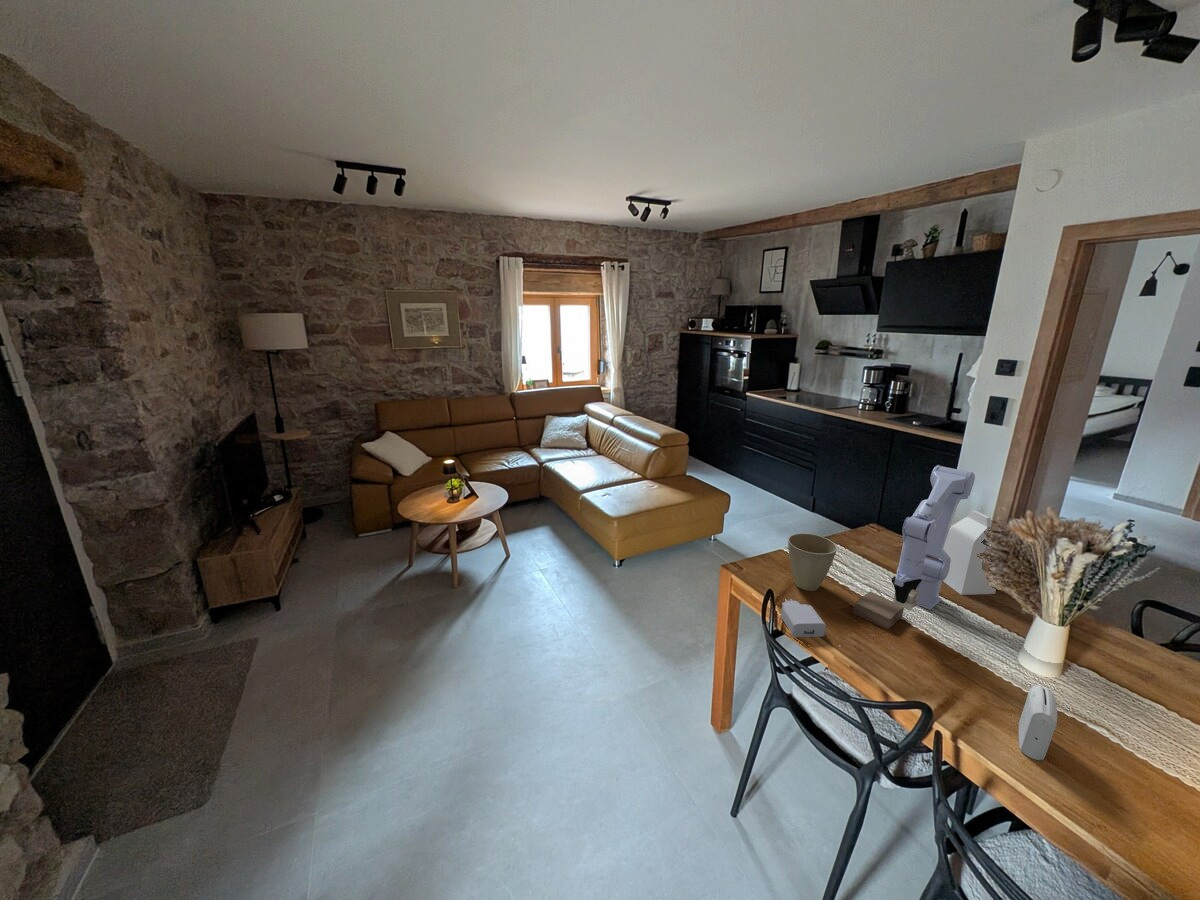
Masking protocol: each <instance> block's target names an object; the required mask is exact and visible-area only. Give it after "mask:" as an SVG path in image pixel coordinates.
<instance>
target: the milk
mask: <svg viewBox="0 0 1200 900" xmlns="http://www.w3.org/2000/svg"><path fill="white" fill-rule="evenodd" d="M991 526H992V521H991V517H989V516H987V515H986V514H983V513H982V512H980V511H978V510H975V509H974V510H973V509H972V510H971V511H970V512H969V513H968V514H967V516H965V517H964V518H962V519H960V520H959V521H957V522H956V523H954V524H951V526H950V529H949V532H948V535H947V538H946V541H945V544H944V547H943V550H944V551H945V552H946V553H947V554H948V555H949V557H950V559H951V563H950V569H949V572H948V575H947V577H946V579H945V580H943V581H942V582H944V583H945V584H946V585H947V586H948V587H950V588H951V589H953V590H954V591H956V592H957V593H958V594H959V595H961V596H963V595H964V596H965V595H966V596H967V595H971V596H972V595H993V594H996V591H997V588H996V589H994V588H992V587H989V586H988V585H987V579H986V574H985V572H984V571H983V569H982V561H981V559H980V558H979V557H977V556H976V555H977V554H980V553H983V552H984V551H985V548H986V547H985V545H984V544H983V543H981V542H982V541H983V540H984V539H985V537H986V535H985V534H984V531H987V530H989V529H990V528H991ZM938 559H939V560H941V559H940V558H938Z"/></svg>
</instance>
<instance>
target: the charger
mask: <svg viewBox="0 0 1200 900" xmlns="http://www.w3.org/2000/svg"><path fill="white" fill-rule="evenodd" d="M784 600H785V601H784V602H782V603H781V605H782V607H781V610H780V611H781V614H780V618H781V619H782V621H783V622H784V624H785V626H786V627H787V629H788V631H789V632H790V634H791V636H792V637H793V638H814V637H815V638H819V637H820V638H822V637H824V636H825V635H826V629H827V624H826V623H825V622H824V620H823V619H822V618H821V616H820V615H819V614H818V612H817V611H816V610H815V608H814V607H813V606H812V605H810V604H801V603H800V602H799V601H796V600H793V599H792V598H790V599H789V600H787V599H786V598H785V599H784Z"/></svg>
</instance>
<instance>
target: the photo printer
mask: <svg viewBox="0 0 1200 900" xmlns="http://www.w3.org/2000/svg"><path fill="white" fill-rule="evenodd" d="M1057 722H1058V706H1057V702H1056V698H1055V695H1054V694H1053V693H1052V691H1051V690H1050V689H1049V688H1048V687H1044V686H1042V685H1039V684H1036V685H1033V686H1031V687H1030V689H1029V691H1028V693H1027V697H1026V700H1025V703H1024V706H1023V709H1022V712H1021V715H1020V718H1019V722H1018V746H1019V750H1020V751H1021V752H1022V753H1023V754H1024V755H1025V756H1027V757H1028V758H1030V759H1033V760H1036V761H1044V760H1045V757H1046V755H1047V753H1048V749H1049V747H1050V744H1051V742H1052V738H1053V735H1054V733H1055V730H1056V726H1057V724H1058V723H1057Z"/></svg>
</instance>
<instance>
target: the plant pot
mask: <svg viewBox="0 0 1200 900" xmlns="http://www.w3.org/2000/svg"><path fill="white" fill-rule="evenodd" d="M787 544H788V547H787V548H788V557H789V565H790V568H791V573H792V578H793V582H794V585H796V587H798V588H799V589H801V590H804V591H807V592H808V591H809V592H814V591H817V590H818V589H820V586H821V585H822V584H823V582H824V580H825V579H826V577H827V575H828V573H829V572H830V569H831V566H832V564H833V562H834V560H835V557H836V553H837V551H838V546H837V545H836V543H835V542H834V541H832V540H830V539H828V538H826V537H824V536H822V535H818V534H814V533H806V532H805V533H801V532H800V533H795V534H792V535H790V536H789V537H788V539H787Z"/></svg>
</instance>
